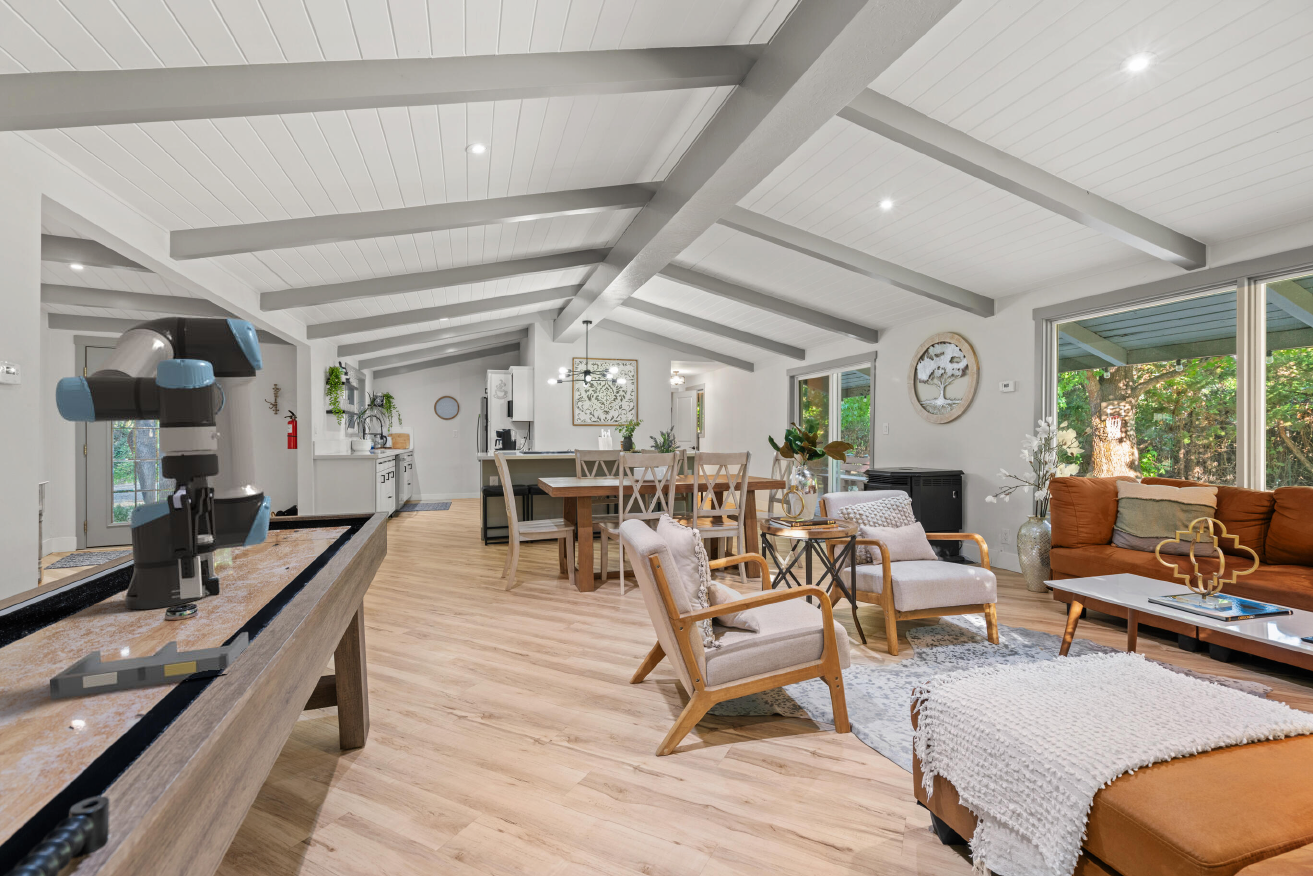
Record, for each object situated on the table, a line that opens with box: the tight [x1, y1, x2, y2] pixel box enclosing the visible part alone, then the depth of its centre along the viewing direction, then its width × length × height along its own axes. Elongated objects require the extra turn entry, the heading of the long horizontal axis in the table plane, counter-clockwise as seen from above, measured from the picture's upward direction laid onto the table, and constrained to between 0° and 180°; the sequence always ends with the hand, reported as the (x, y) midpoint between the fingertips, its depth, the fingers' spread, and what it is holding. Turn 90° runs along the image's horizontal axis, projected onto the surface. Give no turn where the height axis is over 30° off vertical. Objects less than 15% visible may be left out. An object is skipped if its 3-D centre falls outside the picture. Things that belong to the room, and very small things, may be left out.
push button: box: [172, 535, 221, 599], centre depth 103 cm, size 7×5×10 cm
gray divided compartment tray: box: [49, 631, 250, 701], centre depth 100 cm, size 12×22×3 cm, turn 110°
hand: (197, 592), depth 103 cm, fingers closed on push button, 5 cm apart
